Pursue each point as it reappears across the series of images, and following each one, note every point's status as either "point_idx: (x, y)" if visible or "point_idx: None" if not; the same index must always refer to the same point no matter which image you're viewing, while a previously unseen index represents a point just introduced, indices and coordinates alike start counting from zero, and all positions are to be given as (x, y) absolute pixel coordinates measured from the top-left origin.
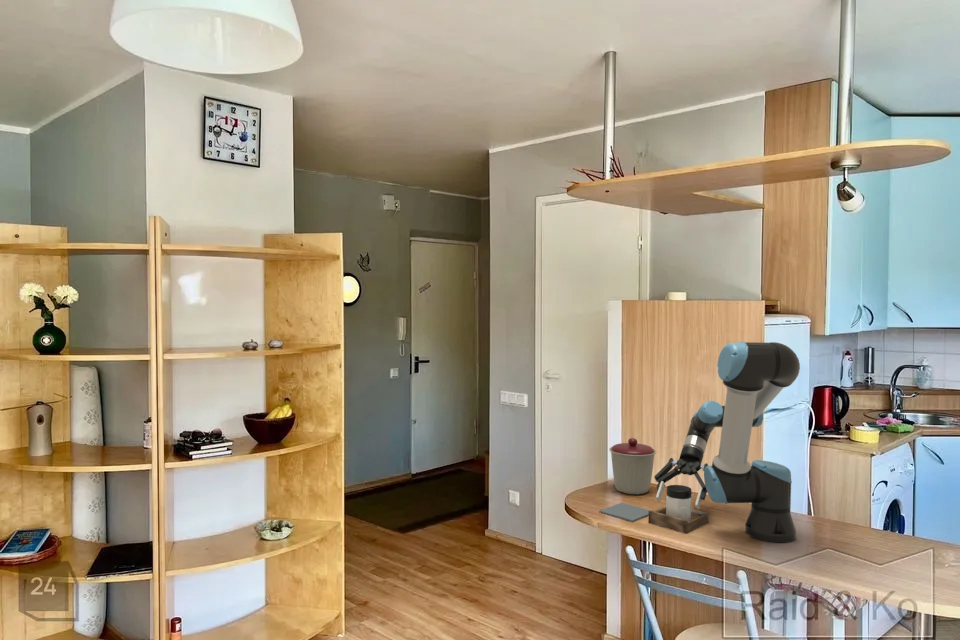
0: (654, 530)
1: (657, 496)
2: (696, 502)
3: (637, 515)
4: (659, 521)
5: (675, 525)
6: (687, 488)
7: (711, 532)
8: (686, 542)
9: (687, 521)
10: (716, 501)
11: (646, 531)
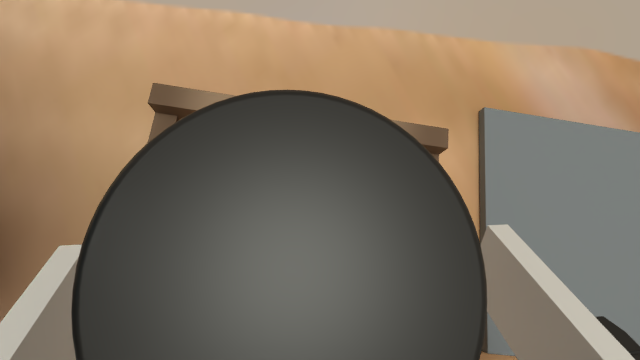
0: (335, 67)
1: (500, 231)
2: (60, 267)
3: (514, 200)
4: None
5: None
6: (155, 356)
7: (41, 236)
8: (132, 4)
9: (150, 103)
10: None
11: (358, 33)
